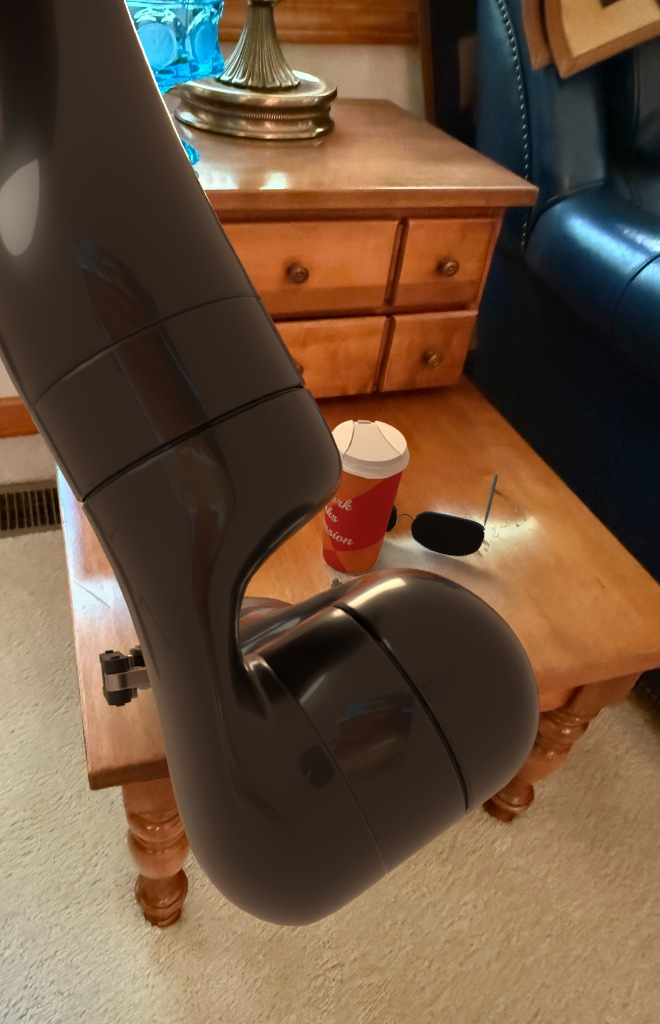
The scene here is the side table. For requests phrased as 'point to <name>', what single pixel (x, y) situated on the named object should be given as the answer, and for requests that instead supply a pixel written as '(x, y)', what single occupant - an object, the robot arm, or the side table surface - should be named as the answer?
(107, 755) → the side table surface
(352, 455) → the coffee cup
